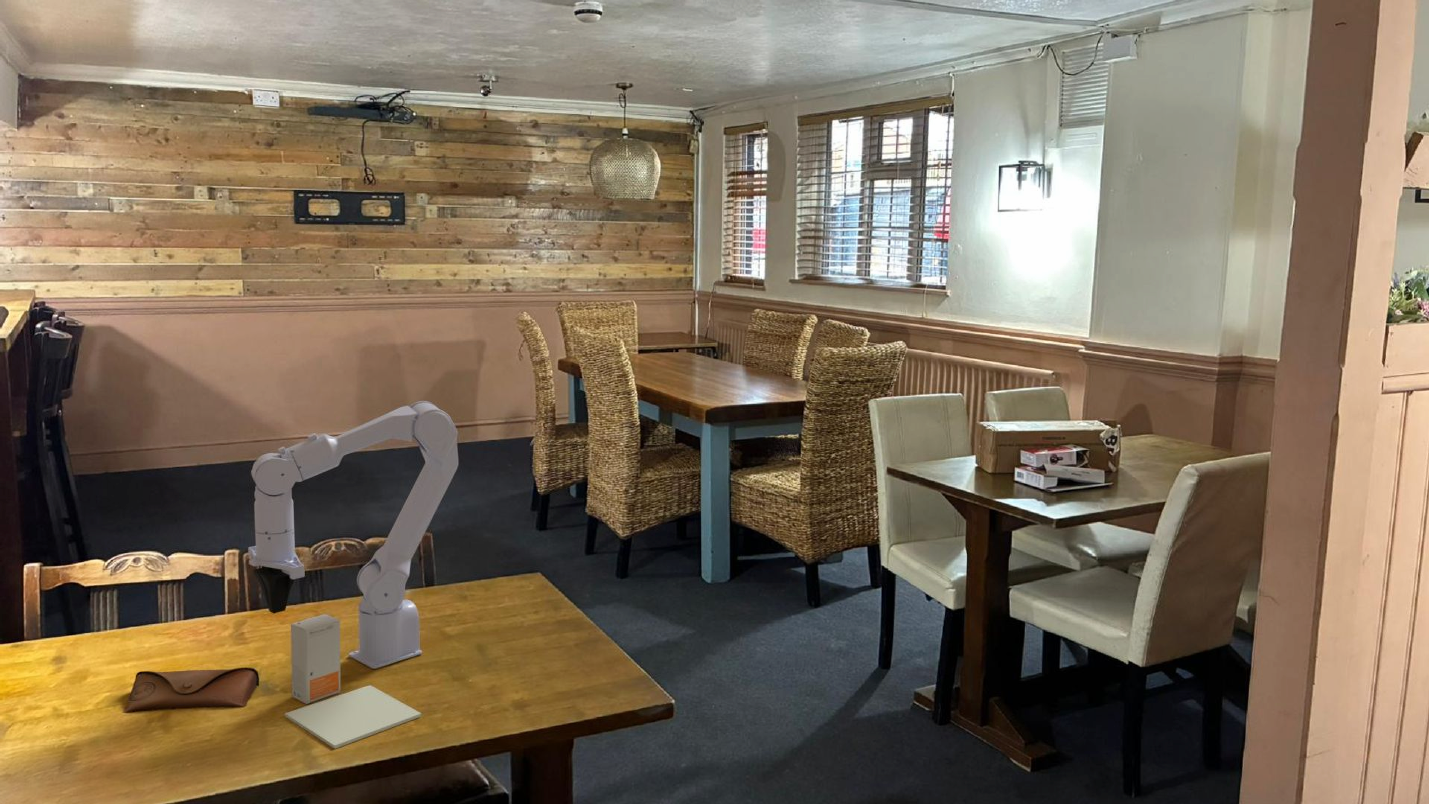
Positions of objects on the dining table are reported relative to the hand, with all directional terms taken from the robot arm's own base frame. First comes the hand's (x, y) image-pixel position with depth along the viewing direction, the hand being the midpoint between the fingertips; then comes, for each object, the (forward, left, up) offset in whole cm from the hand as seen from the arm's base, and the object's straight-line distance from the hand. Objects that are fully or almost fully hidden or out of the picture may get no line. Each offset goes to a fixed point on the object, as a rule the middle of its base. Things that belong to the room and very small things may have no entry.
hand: (277, 611), depth 169 cm
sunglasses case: (+14, 0, -11) cm, 18 cm away
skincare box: (0, +12, -11) cm, 16 cm away
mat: (0, +22, -10) cm, 25 cm away
